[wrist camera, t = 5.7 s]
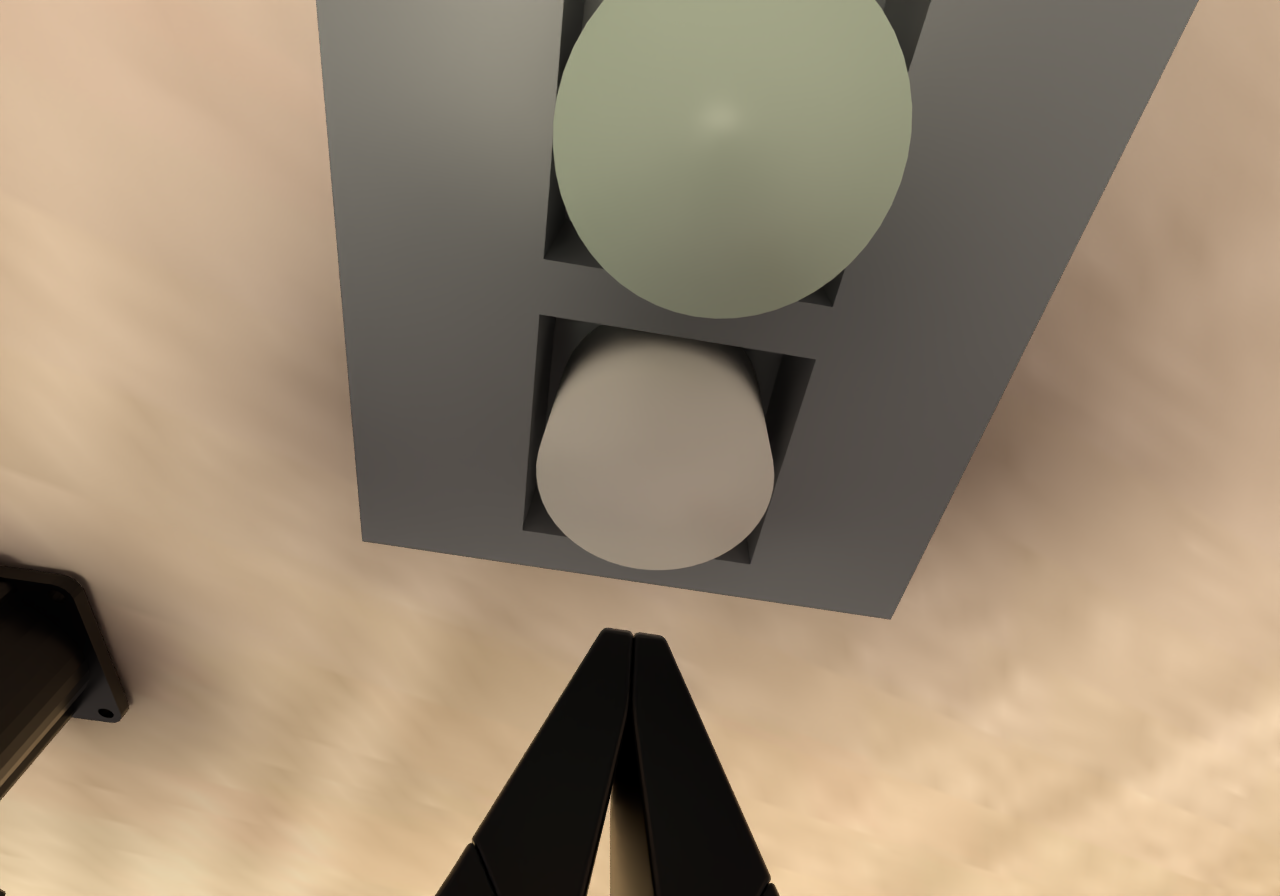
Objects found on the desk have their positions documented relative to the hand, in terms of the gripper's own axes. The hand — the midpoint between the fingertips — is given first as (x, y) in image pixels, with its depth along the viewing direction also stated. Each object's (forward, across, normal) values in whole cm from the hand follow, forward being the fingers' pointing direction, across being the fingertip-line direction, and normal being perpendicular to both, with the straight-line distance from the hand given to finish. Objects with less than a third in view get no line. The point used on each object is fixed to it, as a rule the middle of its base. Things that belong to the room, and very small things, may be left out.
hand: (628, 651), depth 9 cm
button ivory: (+7, 0, 0) cm, 7 cm away
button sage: (+6, 0, -6) cm, 8 cm away
